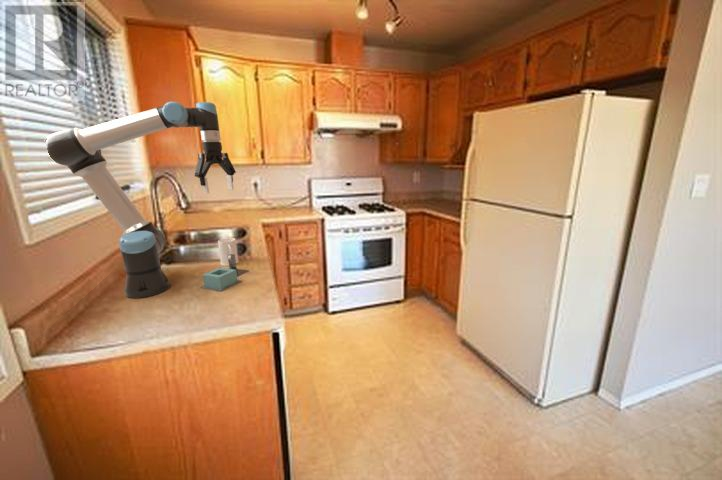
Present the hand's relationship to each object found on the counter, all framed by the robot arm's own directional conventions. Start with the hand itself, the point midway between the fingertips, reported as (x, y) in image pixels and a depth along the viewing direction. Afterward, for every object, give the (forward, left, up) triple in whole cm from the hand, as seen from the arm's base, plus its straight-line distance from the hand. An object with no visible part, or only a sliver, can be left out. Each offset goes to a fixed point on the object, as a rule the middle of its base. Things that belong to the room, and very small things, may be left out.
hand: (219, 191), depth 144 cm
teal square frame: (+12, -17, -36) cm, 41 cm away
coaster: (+12, -17, -37) cm, 42 cm away
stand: (+7, -5, -37) cm, 38 cm away
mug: (-5, +5, -37) cm, 37 cm away
